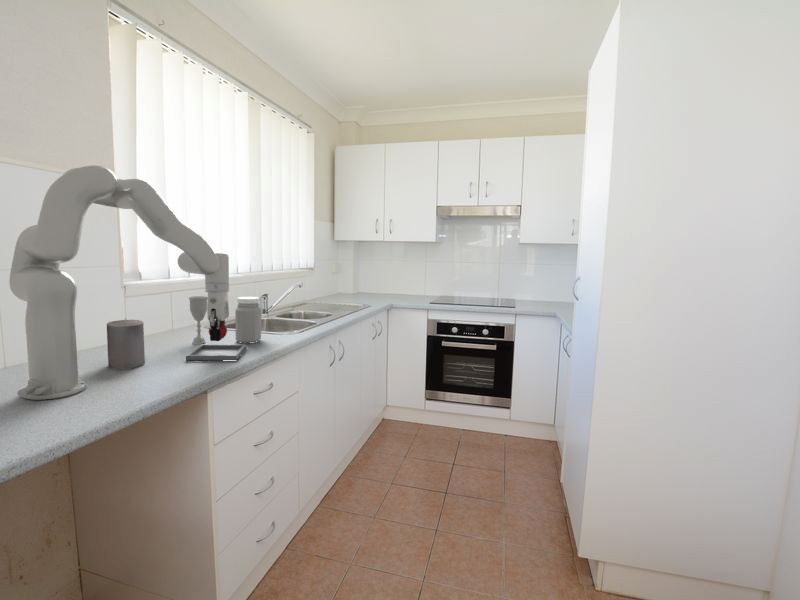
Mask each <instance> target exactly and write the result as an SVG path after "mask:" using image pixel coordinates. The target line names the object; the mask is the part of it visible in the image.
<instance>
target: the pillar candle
mask: <svg viewBox="0 0 800 600" xmlns="http://www.w3.org/2000/svg"><path fill="white" fill-rule="evenodd" d="M144 329H145V328H144V321H142V320H140V319H126V317H125V318H124V319H120V320H114V321H113V320H112V321H109V322H107V323H106V339H107V340H106V341H107V342H106V343H107V365H108V368H109V369H111V368H112V369H111V370H128V369H130V368H131V369H134V368H137V367H141V366H143V365H145V363H146V360H145V359H146V358H145V357H146V355H145V334H144V333H145V331H144Z"/></svg>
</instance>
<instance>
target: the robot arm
mask: <svg viewBox="0 0 800 600" xmlns="http://www.w3.org/2000/svg"><path fill="white" fill-rule="evenodd" d="M93 204H97V205H101V206H105V207H110V208H117V209H122V210H132V211H134V213H135V215H137V216H138V217H139V219H140V220H141V221H142V222H143V223H144V225H146V227H147V228H148V229H149V230H150V231H151V232H152V234H153V235H154V236H155V237H157V238H159V240H162V241H164V242H167V243H168V244H171V245H173V246H175V247H177V248H178V249H179V250H182V251H183V252H182V253H180V255H179V256H178V257H177V265H178V267H179V269H180V270H182V271H183V272H185V273H187V274H194V275H195V274H197V275H204V284H205V285H204V286H205V287H204V291H205V292H206V293H207V297H208V299H207V312H206V314H207V320H208V321H209V328H210V334H209V340H210V342H220V341H221V340H220V329H219V325H220V322H222V323H223V324H224V325H225V326H226V319H228V318H229V316H230V310H229V309H230V308H229V307H230V306H229V297H228V293H229V292H230V279H229V278H230V277H229V276H230V269H229V268H230V267H229V265H230V264H229V263H230V260H229V259H230V256H229V254H228V253H227V252H225V251H214V248H212V247H211V245H210V244H209V243H208V242H207V241H206V239H205V238H204V237H203V236H201V235H200V234H199V233H198V232H196V231H195V230H194V229H193V228H191V227H190V226H189V225H188V224H186V223H185V222H183V220H181V219H180V218H179V217H178V215H177V214H176V213H175V212H174V211H173V209H172V208H171V207H170V206H169V204H168V203H167V202H166V200H165V198H163V197H162V195H161V194H160V192H159V191H158V190H157V189H156V188H155V186H154V185H153V184H151V183H150V182H149V180H148V181H147V180H145V179H143V178H142V179H141V178H129V179H128V178H127V179H121V178H117V177H116V174H115V173H114V172H113V171H112V170H111V169H109V168H108V167H105V166H102V165H93V164H92V165H86V166H85V165H84V166H80V167H75V168H71V169H69V170H68V169H67V170H66V171H65V172H64V173H63V174H62V175H61V176H60V177H58V178H57V179H56V180H55V181H54V182H53V183H52V184H51V185H50V186H49V188H48V189H47V191H46V193H45V195H44V197H43V201H42V205H41V208H40V212H39V216H38V220H37V223H36V224H34V225H31V226H28V227H26V228H25V229H24V230H23V231H22V232H20V234H19V235H18V237H17V240H16V242H15V243H16V244H15V247H14V252H13V258H12V262H11V267H10V273H9V280H8V281H9V282H8V283H9V289H10V291H11V292H12V294H13V295H14V296H15V297H16V298H18V299H19V300H22V301H24V302H26V310H25V319H24V320H25V321H24V323H25V324H24V325H25V328H24V329H25V335H26V337H25V338H26V350H27V351H26V352H27V353H26V354H27V362H28V363H27V364H28V378H29V379H28V380H27V386H25V387H23V388H21V389H18V391H17V395H18V397H19V398H24V399H26V400H31V401H32V400H33V401H34V400H35V401H37V400H38V401H39V400H40V401H41V400H53V399H60V398H65V397H67V396H72V395H75V394H78V393H80V392H83V391H84V390H85V389H86V388H87V383H86V381H84V380H81V379H79V371H78V370H79V369H78V368H79V367H78V350H77V349H78V348H77V335H76V334H77V333H76V332H77V331H76V307H77V305H76V304H77V298H78V288H77V284H76V282H75V280H74V279H73V277H72V276H71V275H69V273H67V272H66V271H64V270H61V269H60V264H62V263H64V264H65V263H68V262H71V261H72V260H74V259H75V257H77V254H78V252H79V250H80V244H81V243H80V242H81V236H82V231H83V226H84V221H85V218H86V214H87V212H88V209H89V208H90V207H91V205H93ZM216 319H218V320H216ZM215 322H217V324H216V323H215Z"/></svg>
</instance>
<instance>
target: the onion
mask: <svg viewBox="0 0 800 600" xmlns="http://www.w3.org/2000/svg"><path fill="white" fill-rule="evenodd" d="M215 320H218V319H215ZM215 323H216V324H217V322H215ZM219 329H220V341H222V340H223V339H224V338H225V337H226V336H227V333H228V328H227V326H226V324H225V325H224V324H223V323H222V322H220V325H219ZM208 335H210V327H209V329H208Z"/></svg>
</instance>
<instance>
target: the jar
mask: <svg viewBox="0 0 800 600" xmlns="http://www.w3.org/2000/svg"><path fill="white" fill-rule="evenodd" d="M236 301H237V307H236V308H235V313H234V314H235V340H236V341H237V343H239V342H241V343H240V344H243V343H250V342H256V341H258V342H260V341H261V339H262V308H261V307H260V304H259V303H260V297H258V296H249V295H248V296H239V297H237V299H236ZM256 343H257V342H256ZM250 344H251V343H250Z"/></svg>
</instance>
